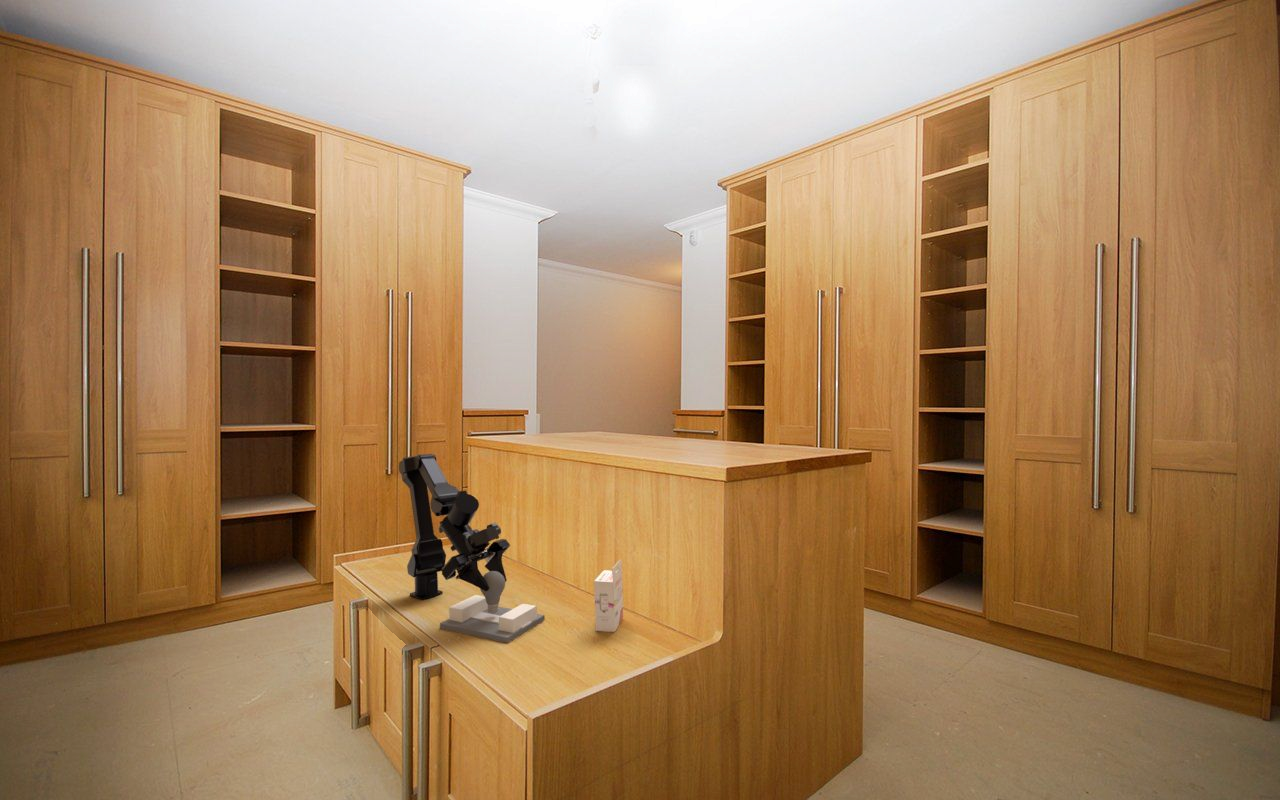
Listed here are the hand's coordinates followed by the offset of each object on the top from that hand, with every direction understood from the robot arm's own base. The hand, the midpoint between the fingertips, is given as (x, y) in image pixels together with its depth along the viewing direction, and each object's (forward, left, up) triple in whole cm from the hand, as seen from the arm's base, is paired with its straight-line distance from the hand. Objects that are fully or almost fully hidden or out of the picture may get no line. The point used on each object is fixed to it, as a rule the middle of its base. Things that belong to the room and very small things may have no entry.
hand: (496, 586), depth 132 cm
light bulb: (-1, 0, -7) cm, 7 cm away
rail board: (-1, 0, -9) cm, 9 cm away
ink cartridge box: (+22, +16, -10) cm, 28 cm away
